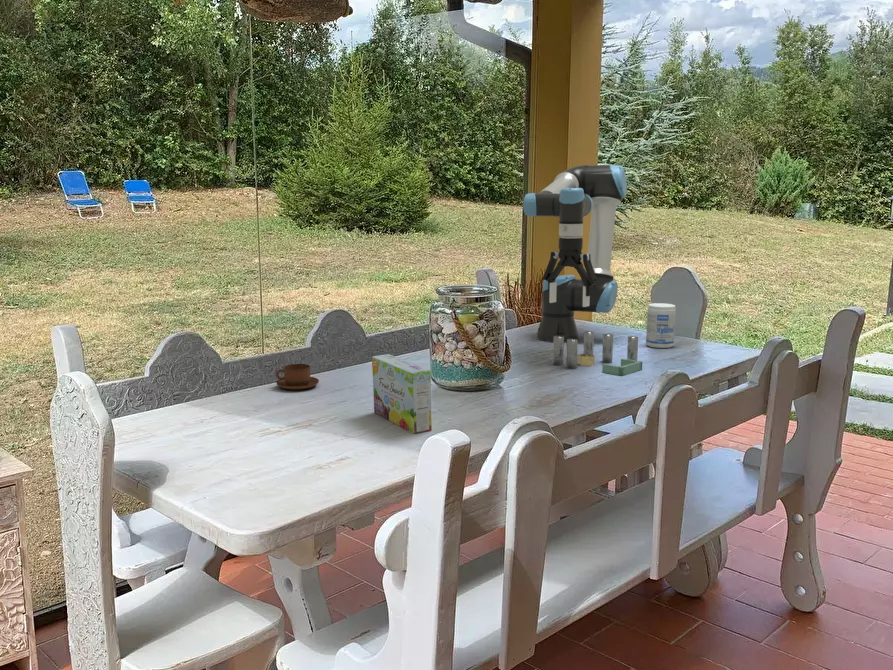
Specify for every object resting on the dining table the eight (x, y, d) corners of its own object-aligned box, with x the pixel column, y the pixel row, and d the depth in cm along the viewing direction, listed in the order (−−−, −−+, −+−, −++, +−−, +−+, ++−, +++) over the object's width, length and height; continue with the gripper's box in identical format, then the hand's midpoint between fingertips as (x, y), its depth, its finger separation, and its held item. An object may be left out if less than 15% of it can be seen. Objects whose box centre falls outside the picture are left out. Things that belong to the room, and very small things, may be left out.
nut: (587, 366, 268) (587, 357, 267) (575, 364, 271) (575, 355, 270) (596, 364, 271) (596, 354, 271) (584, 362, 274) (585, 352, 274)
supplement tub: (658, 349, 293) (660, 307, 290) (640, 345, 301) (641, 304, 298) (679, 347, 297) (681, 305, 294) (661, 342, 305) (662, 302, 303)
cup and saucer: (278, 394, 236) (277, 372, 235) (275, 384, 248) (274, 363, 246) (321, 391, 239) (320, 369, 238) (316, 381, 251) (315, 361, 250)
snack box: (371, 413, 216) (370, 355, 214) (391, 410, 219) (390, 353, 217) (412, 434, 199) (412, 372, 196) (433, 430, 202) (432, 369, 199)
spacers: (549, 364, 270) (549, 337, 269) (585, 355, 284) (585, 328, 283) (604, 375, 256) (605, 345, 255) (639, 364, 270) (640, 336, 268)
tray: (602, 372, 260) (602, 364, 260) (622, 366, 268) (622, 358, 268) (621, 375, 255) (622, 367, 255) (642, 369, 263) (642, 361, 263)
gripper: (532, 236, 274) (531, 301, 278) (596, 239, 258) (594, 309, 262) (546, 234, 280) (545, 299, 284) (610, 238, 263) (608, 306, 267)
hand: (569, 304), depth 273 cm, fingers open, 12 cm apart
